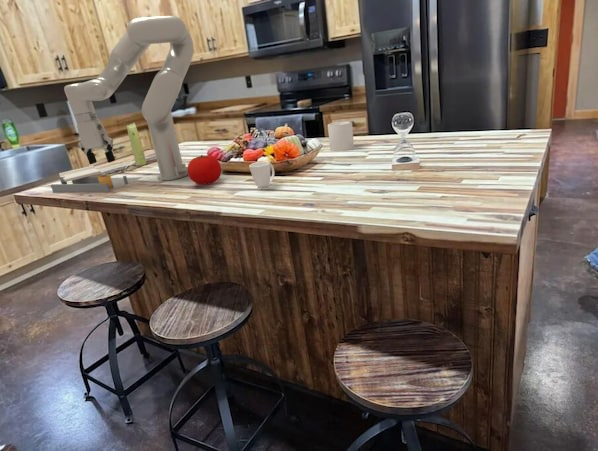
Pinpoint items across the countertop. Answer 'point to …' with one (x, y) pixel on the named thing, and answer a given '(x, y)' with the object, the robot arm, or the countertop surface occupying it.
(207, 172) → the tomato
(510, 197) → the countertop surface
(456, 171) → the countertop surface
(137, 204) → the countertop surface
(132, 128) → the tube
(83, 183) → the grey tray
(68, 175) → the cover
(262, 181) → the cup
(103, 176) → the orange cube
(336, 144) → the mug
